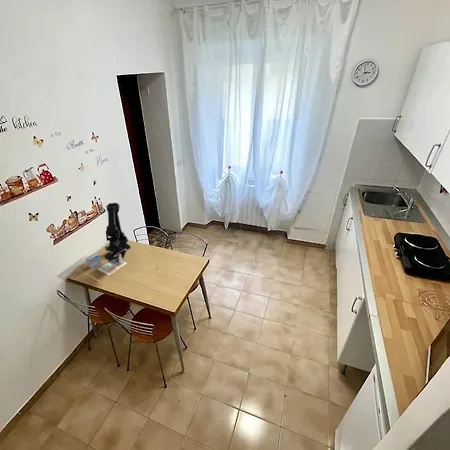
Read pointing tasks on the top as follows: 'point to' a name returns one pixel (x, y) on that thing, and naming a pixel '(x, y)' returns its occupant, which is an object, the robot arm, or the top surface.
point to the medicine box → (93, 260)
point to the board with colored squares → (111, 267)
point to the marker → (120, 258)
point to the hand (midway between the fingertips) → (120, 261)
